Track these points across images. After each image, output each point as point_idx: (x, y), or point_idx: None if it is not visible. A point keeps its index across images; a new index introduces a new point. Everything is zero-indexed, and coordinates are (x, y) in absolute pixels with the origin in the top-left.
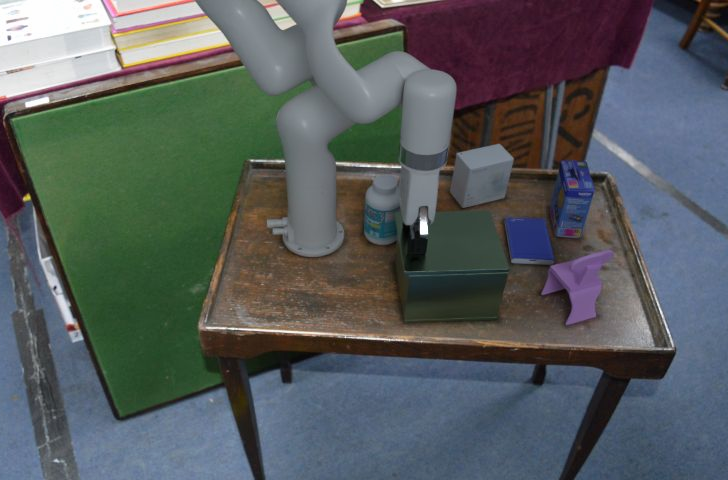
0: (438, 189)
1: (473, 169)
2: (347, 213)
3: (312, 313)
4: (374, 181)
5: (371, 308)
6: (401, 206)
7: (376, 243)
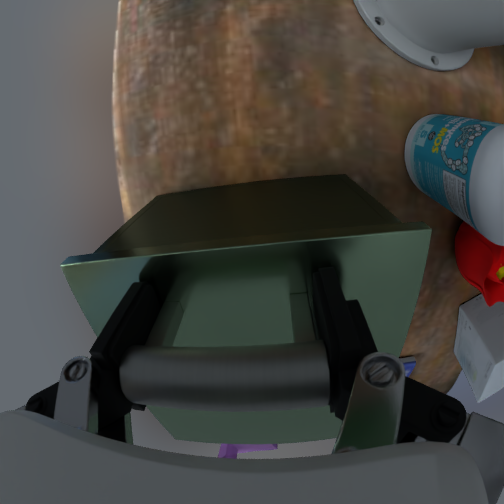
0: (492, 303)
1: (493, 367)
2: (484, 95)
3: (164, 9)
4: None
5: (189, 122)
6: (87, 500)
7: (407, 137)
